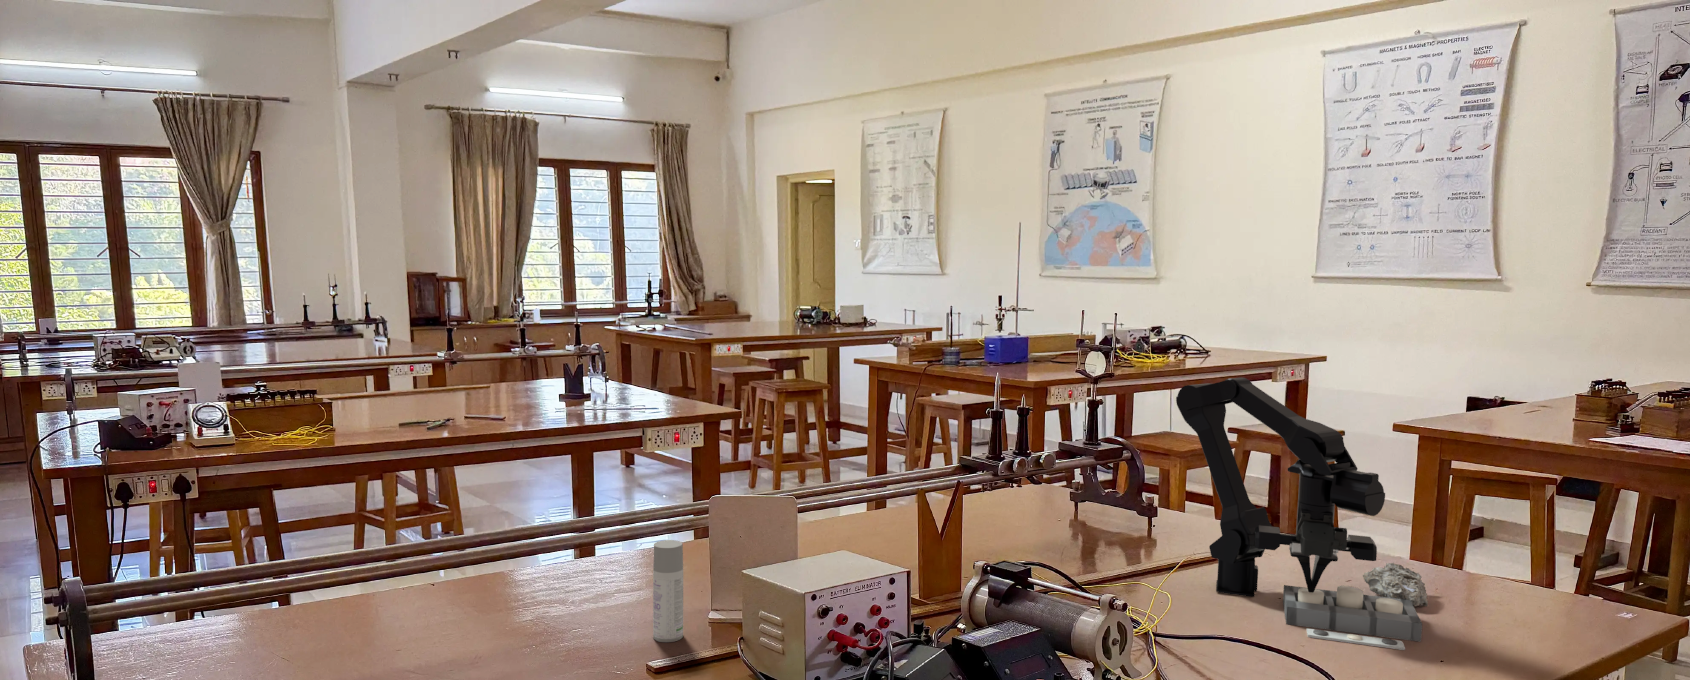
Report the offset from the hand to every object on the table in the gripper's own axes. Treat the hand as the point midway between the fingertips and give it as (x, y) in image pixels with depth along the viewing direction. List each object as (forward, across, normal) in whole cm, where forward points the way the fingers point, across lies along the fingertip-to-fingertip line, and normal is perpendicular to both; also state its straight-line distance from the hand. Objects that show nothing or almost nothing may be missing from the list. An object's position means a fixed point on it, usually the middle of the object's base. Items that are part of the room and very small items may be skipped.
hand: (1310, 591), depth 177 cm
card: (+4, +6, -10) cm, 12 cm away
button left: (+4, 0, 0) cm, 4 cm away
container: (+4, -96, -51) cm, 109 cm away
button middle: (+2, +6, 0) cm, 6 cm away
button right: (+4, +12, 0) cm, 13 cm away
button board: (+4, +6, 0) cm, 7 cm away
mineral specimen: (+5, +16, +16) cm, 22 cm away
